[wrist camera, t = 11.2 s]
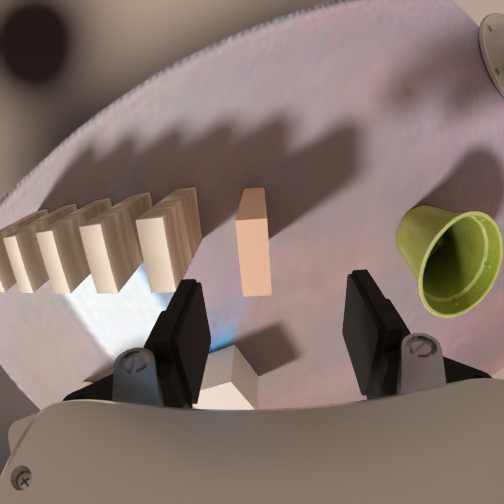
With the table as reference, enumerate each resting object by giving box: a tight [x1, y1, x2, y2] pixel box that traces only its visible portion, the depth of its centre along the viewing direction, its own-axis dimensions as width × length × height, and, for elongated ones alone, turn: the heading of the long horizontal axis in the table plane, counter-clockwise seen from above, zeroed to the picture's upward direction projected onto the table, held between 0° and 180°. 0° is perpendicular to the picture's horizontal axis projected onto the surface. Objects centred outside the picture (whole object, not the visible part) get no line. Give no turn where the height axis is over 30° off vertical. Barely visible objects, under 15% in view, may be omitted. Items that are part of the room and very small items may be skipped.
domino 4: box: [79, 192, 153, 293], centre depth 23 cm, size 2×5×10 cm, turn 4°
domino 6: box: [235, 187, 271, 296], centre depth 23 cm, size 2×5×10 cm, turn 4°
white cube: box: [193, 345, 258, 410], centre depth 32 cm, size 6×6×6 cm
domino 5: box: [136, 187, 202, 292], centre depth 23 cm, size 2×5×10 cm, turn 4°
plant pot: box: [397, 206, 503, 318], centre depth 23 cm, size 9×9×9 cm
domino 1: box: [0, 209, 49, 292], centre depth 24 cm, size 2×5×10 cm, turn 4°
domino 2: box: [3, 203, 78, 293], centre depth 23 cm, size 2×5×10 cm, turn 4°
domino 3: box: [36, 198, 112, 293], centre depth 23 cm, size 2×5×10 cm, turn 4°
